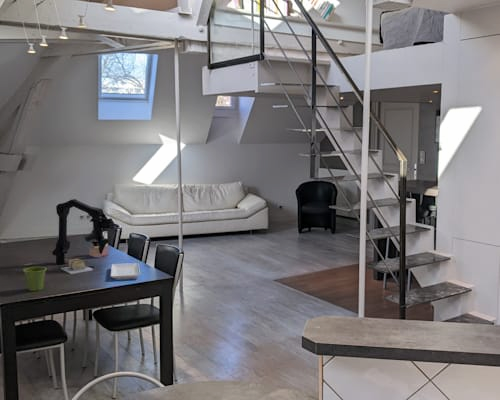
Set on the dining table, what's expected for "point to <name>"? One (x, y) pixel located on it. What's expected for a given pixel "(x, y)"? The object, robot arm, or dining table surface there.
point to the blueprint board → (76, 270)
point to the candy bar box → (105, 245)
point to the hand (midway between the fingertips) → (98, 253)
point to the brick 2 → (97, 251)
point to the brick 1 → (76, 264)
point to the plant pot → (35, 277)
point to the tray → (125, 271)
